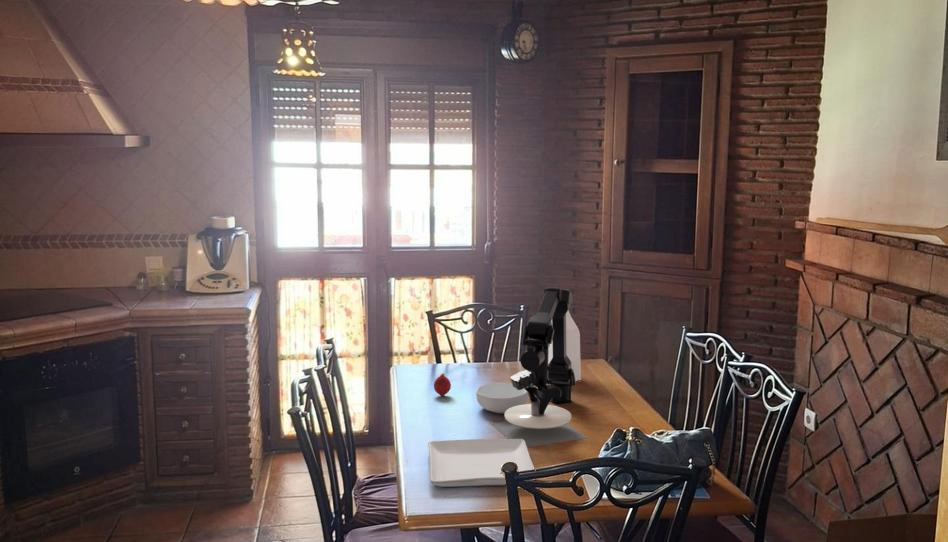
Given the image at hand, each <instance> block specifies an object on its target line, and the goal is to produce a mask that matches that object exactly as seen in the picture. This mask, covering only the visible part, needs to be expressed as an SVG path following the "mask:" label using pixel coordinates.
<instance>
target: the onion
mask: <svg viewBox="0 0 948 542" xmlns="http://www.w3.org/2000/svg"><path fill="white" fill-rule="evenodd" d="M451 387H452V384H451V381H450V379H449V378H448V377H447V376H445V374H444V372H442V373H440V375H439V376H438V377H437V378H436V379H435V380H434V383H433V389H434V391H435V392H436V393H437V395H439V396H440V397H444V396H445V395H447V394H448V393H449V391H450V390H451Z"/></svg>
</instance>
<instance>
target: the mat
mask: <svg viewBox="0 0 948 542" xmlns="http://www.w3.org/2000/svg"><path fill="white" fill-rule="evenodd" d="M489 424H490V425H491V426H492V427H493V428H494V429H495V430H497V431H498V432H500V433H501V435H503V436H504V437H505V438H506V439H523V440H524V441H525V443H526V446H527V448H531V447H537V446H538V447H539V446H542V445H551V444H557V443H563V442H571V441H576V440H584V439H588V437H587V436H586V435H584V434H583V433H581V432H580V431H578V430H577V429H575V428H574V427H572V426H571V425H570V424H569V423H567V424H565V425H563V426H560V427H555V428H545V429H537V428H526V427H521V426H517V425H514V424H512V423H510V422H508V421H507V420H504V421H497V422H496V421H495V422H489Z"/></svg>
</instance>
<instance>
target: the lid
mask: <svg viewBox="0 0 948 542" xmlns="http://www.w3.org/2000/svg"><path fill="white" fill-rule="evenodd" d="M504 419H505V421H508V422H510V423H512V424H514V425H517V426H521V427H526V428H537V429H545V428H555V427H560V426H563V425H565V424H569V423H570V422H571V421H572V413H571V412H570V411H569V410H568V409H565V408H563V407H560V406H558V405H553V404H548V406H547V408H546V410H545V412H544V414H543V415H540V414H539V409H538V401H534V402H532V403H531V402H530V403H525V404H523V405H518V406H514V407H511V408H509V409H507V410H506V411H505V414H504Z"/></svg>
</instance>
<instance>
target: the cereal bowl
mask: <svg viewBox="0 0 948 542" xmlns="http://www.w3.org/2000/svg"><path fill="white" fill-rule="evenodd" d="M475 394H476V401H477V403H478V404H479V405H480V407H482V408H483V409H484V410H486V411H489V412H492V413H496V414H504V415H505V411H506V410H507V409H509V408H511V407H514V406H518V405H523V404H527V401H528V397H529V395H528V392H527V391H526V390H525V389H524V388H523V389H522V390H517V389H516V388H515V387H513V385H512V382H492V383H486V384H483V385H480V386H478V387H477V389H476V392H475Z"/></svg>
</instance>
